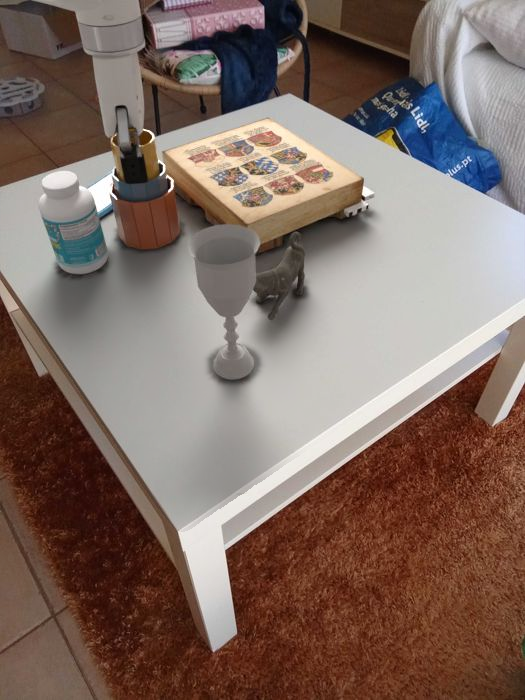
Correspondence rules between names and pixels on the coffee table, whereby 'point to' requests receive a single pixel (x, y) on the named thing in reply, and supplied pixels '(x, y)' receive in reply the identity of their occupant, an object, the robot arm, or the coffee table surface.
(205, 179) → the book
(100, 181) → the smartphone
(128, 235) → the cup stack
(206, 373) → the coffee table surface
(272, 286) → the dog figurine
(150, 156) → the ochre cup
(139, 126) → the robot arm
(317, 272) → the coffee table surface
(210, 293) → the chalice
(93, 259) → the pill bottle
